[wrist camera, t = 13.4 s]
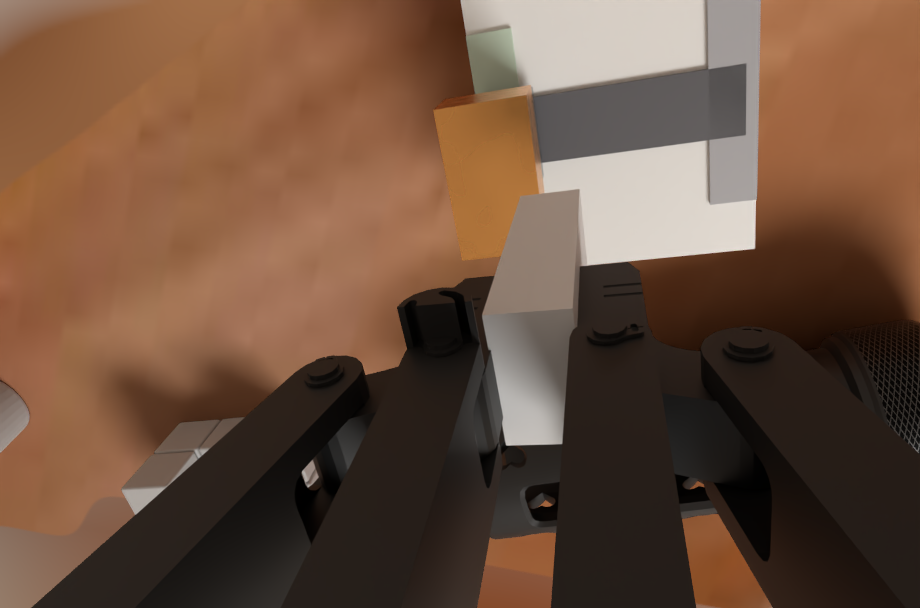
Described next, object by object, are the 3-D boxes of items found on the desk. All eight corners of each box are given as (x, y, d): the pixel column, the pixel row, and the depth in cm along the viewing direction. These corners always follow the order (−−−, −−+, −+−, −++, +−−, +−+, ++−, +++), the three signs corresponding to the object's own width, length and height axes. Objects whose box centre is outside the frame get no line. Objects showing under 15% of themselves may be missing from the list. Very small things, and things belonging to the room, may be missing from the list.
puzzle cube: (232, 528, 58) (184, 604, 51) (179, 421, 53) (119, 489, 46) (354, 523, 55) (321, 603, 48) (311, 409, 50) (267, 480, 43)
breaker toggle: (539, 66, 28) (526, 94, 21) (554, 190, 30) (546, 251, 24) (467, 78, 29) (433, 109, 22) (487, 198, 31) (462, 260, 24)
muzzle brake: (475, 363, 46) (449, 460, 37) (924, 276, 38) (1033, 372, 29) (513, 466, 49) (497, 577, 40) (929, 406, 41) (1027, 528, 32)
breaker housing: (720, -77, 31) (762, -92, 24) (722, 197, 37) (756, 250, 30) (481, -27, 34) (455, -27, 27) (518, 221, 40) (504, 274, 33)
